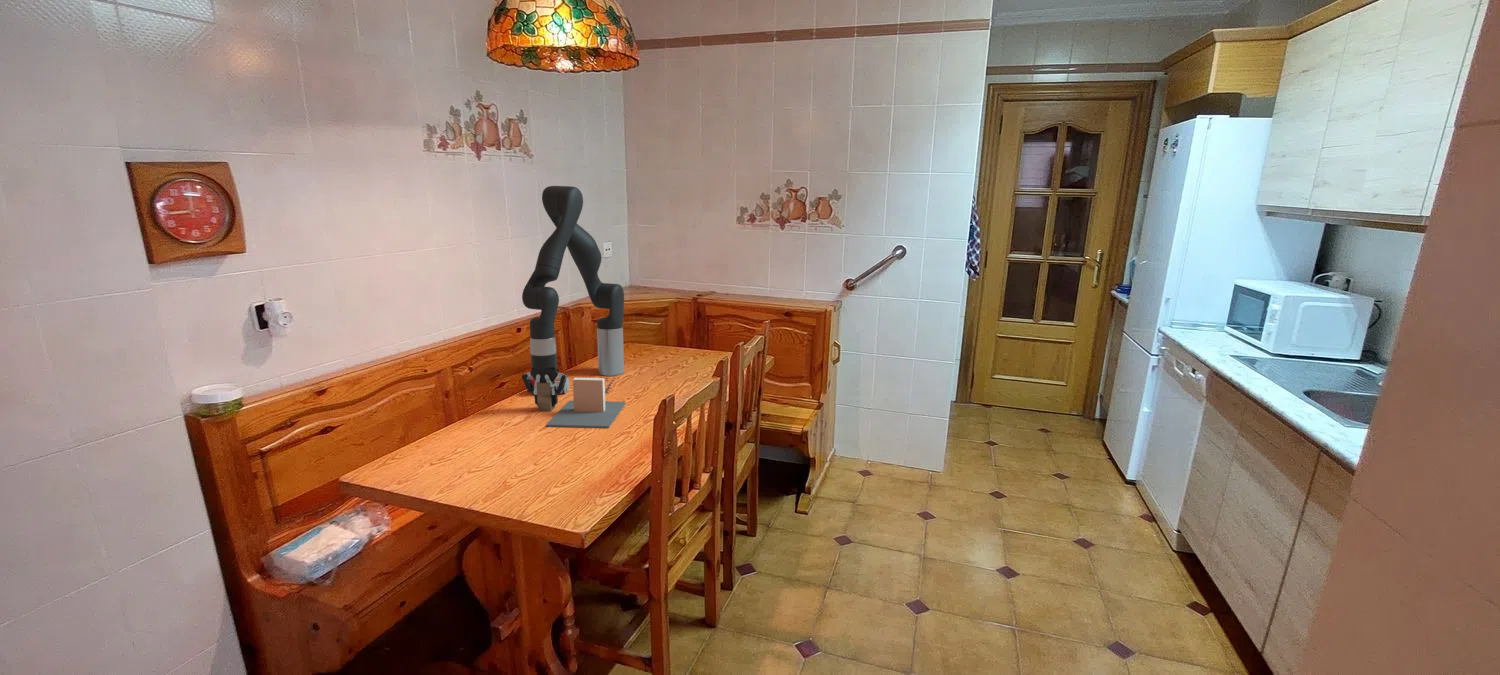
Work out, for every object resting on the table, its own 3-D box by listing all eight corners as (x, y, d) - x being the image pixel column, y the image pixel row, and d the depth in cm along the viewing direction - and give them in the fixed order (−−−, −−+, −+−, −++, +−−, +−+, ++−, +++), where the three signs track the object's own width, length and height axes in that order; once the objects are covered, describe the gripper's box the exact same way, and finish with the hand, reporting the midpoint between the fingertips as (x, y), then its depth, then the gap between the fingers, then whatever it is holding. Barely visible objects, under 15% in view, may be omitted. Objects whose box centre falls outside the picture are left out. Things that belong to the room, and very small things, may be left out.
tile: (576, 408, 187) (575, 377, 184) (605, 409, 186) (604, 378, 184) (574, 411, 184) (572, 379, 182) (603, 412, 184) (602, 380, 182)
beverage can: (566, 378, 199) (528, 379, 198) (566, 396, 200) (529, 397, 199) (569, 373, 205) (533, 373, 204) (570, 390, 206) (534, 391, 205)
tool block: (542, 406, 190) (541, 379, 188) (555, 407, 189) (553, 379, 188) (538, 411, 186) (536, 382, 184) (551, 411, 186) (549, 383, 184)
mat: (569, 402, 194) (569, 400, 194) (625, 403, 194) (625, 401, 194) (546, 426, 173) (546, 424, 173) (608, 428, 173) (608, 426, 172)
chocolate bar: (619, 380, 221) (618, 375, 221) (608, 396, 203) (608, 390, 202) (599, 380, 221) (599, 375, 221) (587, 396, 203) (586, 390, 202)
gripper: (570, 349, 187) (572, 402, 191) (524, 348, 187) (528, 401, 191) (562, 355, 180) (565, 410, 184) (515, 354, 180) (518, 408, 184)
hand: (546, 405), depth 187 cm, fingers closed on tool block, 4 cm apart
